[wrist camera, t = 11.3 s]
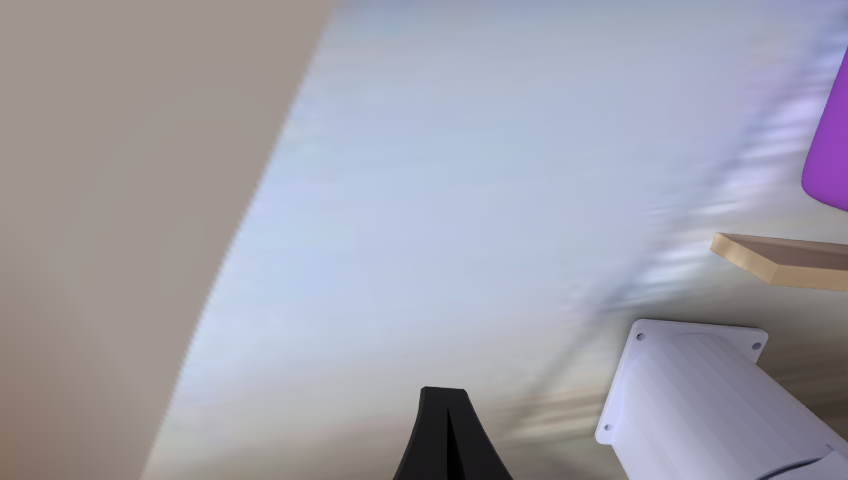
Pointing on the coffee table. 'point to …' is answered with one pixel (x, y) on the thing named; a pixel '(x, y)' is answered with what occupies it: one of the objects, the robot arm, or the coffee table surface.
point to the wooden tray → (787, 260)
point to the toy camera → (830, 148)
